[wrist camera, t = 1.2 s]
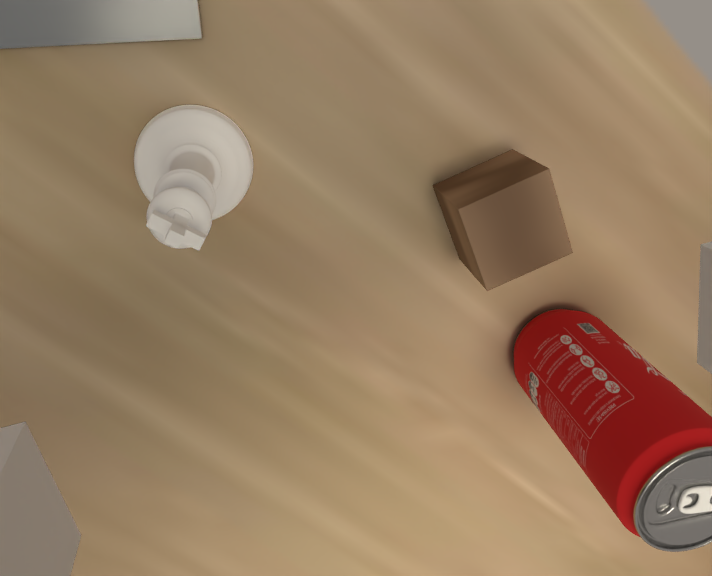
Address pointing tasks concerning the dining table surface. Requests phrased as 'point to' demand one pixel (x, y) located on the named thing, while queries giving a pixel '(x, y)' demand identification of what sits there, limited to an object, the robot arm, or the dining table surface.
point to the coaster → (96, 21)
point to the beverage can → (622, 426)
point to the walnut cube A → (504, 218)
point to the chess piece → (191, 172)
